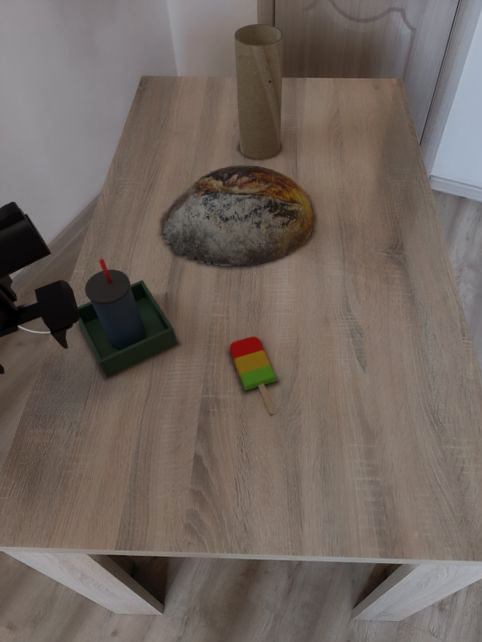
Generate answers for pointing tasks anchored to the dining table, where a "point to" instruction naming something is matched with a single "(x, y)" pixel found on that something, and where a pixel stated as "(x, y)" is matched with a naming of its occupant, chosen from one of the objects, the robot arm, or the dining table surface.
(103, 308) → the cup with straw
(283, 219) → the bread
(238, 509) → the dining table surface
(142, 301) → the bin
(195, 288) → the dining table surface
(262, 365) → the popsicle
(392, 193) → the dining table surface
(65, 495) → the dining table surface
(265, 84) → the tube
